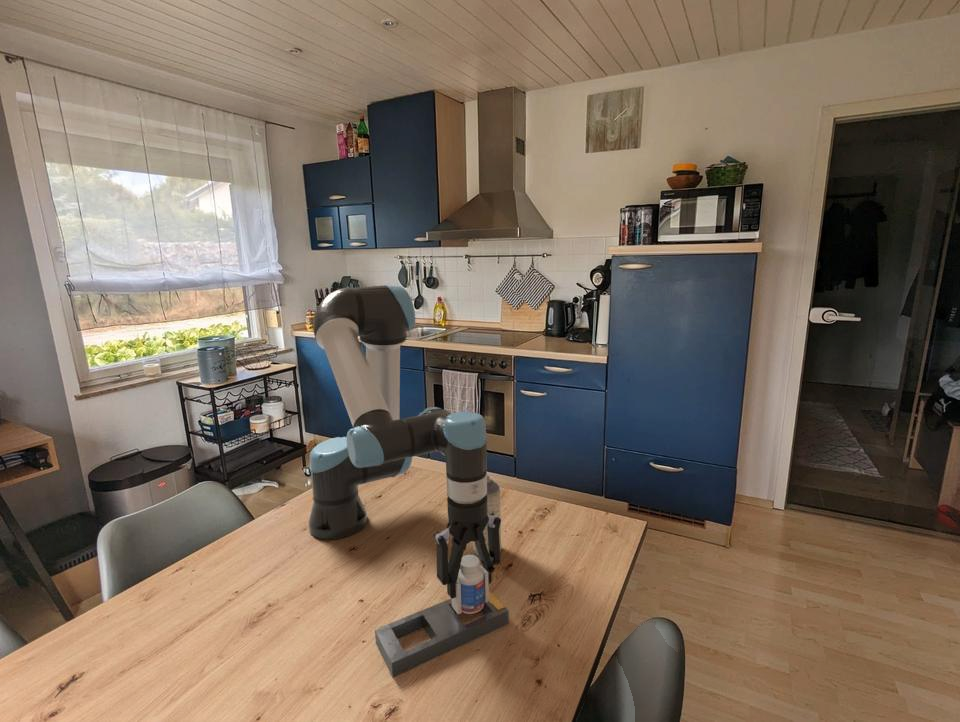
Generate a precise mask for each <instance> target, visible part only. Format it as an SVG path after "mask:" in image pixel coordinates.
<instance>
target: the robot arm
mask: <svg viewBox="0 0 960 722" xmlns="http://www.w3.org/2000/svg"><path fill="white" fill-rule="evenodd" d="M415 312H416V311H415V308H414V304H413V300H412V299H411V295H410V294H409V292H408V291H407V290H406V289H405V288H404V287H403V286H399V285H387V284H385V285H373V286H361V287H359V286H358V287H342V288H339V289H336V290H334V291H332V292H331V293H329V294H327V296H325V297H324V298H323V300H321V302H320V303H319V305H318V306H317V309H316V311H315V313H314V316H313V319H312V320H313V321H312V330H313V331H312V332H313V335H314V338H315V341H316V343H317V345H318V347H319V348H321V349H322V350H324V352H325V355H326V357H327V360H328V364H329V365H330V368H331V370H332V373H333V376H334V379H335V382H336V384H337V387H338V391H339V392H340V395H341V398H342V400H343V403H344V406H345V409H346V411H347V415H348V416H349V419H350V422H351V425H352V428H350V429H349V430H348V431H347V434H346V436H342V437H341V436H336V437H332V438H330V439H326V440H324V441H322V442H320V443H318V444H317V445H316V446H314V447H313V448H312V449H311V451H310V452H309V471H310V477H311V488H312V489H311V490H312V498H313V504H312V507H311V511H310V515H309V519H308V528H309V533H310V534H311V536H313V537H315V538H317V539H321V540H340V539H344V538H348V537H350V536H353V535H354V534H357V533H359V532H360V531H361V530H362V529H364V528H365V526H366V525H367V523H368V517H367V516H368V515H367V510H366V507H365V506H364V504H363V502H362V499H361V497H360V495H359V488H358V487H359V486H361V485H365V484H368V483H369V484H370V483H372V482H377V481H380V480H384V479H388V478H395V477H397V476H399V475H402V474H405V473H406V472H407V471H409V469H410V468H411V466H412V460H413V457H416V456H417V457H418V456H421V455H425V454H431V453H433V452H438V453H439V454H441V455H442V456H443V457H445V472H446V473H445V474H446V477H445V478H446V479H445V480H446V495H447V500H446V501H447V504H446V505H447V517H448V522H447V523H446V528H445V529H443V530H441V531H440V532H439V531H435V532H434V533H433V537H434V540H435V543H436V578H437V579H438V580H439V582H440V583H441V585H443V586H446V591H447V592H446V594H447V595H448V596H449V599H451V601H452V607H453V608H454V610H455V611H456V612H457V614H456V615H460V614H462V613H463V612H462V609H461V583H460V582H459V581H458V579H457V578H458V574H459V569H460V565H461V560H462V557H463V556H464V551H466V550H467V545H468V544H469V543H472V542H473V541H474V542H475V545H476V548H477V551H478V554H479V557H480V558H479V557H478V558H479V560H480V568H481V569H482V570H483V574H484V601H485V602H489V590H490V588H489V584H491V583H492V581H493V577H492V575H493V574H492V573H494V572H495V570H496V568H495V567H494V566H495V565H499V564H500V563H501V553H500V541H499V528H500V524H501V525H502V518H501V519H500V518H499V517H497V516H496V515H495V514H494V513H492V514H490V515H487V512H488V505H487V495H486V494H487V474H488V472H487V471H488V467H487V465H488V462H487V460H488V458H487V457H488V456H487V455H488V454H487V453H488V452H487V449H488V448H487V445H488V442H487V441H488V434H487V431H486V430H487V429H486V419H485V417H483V415H481V414H480V413H478V412H472V411H457V412H453V413H451V412H450V411H449V410H446V409H443V408H440V407H437V406H430V407H429V406H428V407H427V408H425V409H423V410H422V411H421V412H419V413H418V415H416V416H410V417H406V418H400V406H401V404H400V400H401V399H400V393H401V391H400V390H401V389H400V387H401V386H400V385H401V377H400V376H401V346H402V345H403V344H404V343H405V342H406V341H407V333H408V332H409V333H410V332H411V331H413V330H414V328H415V326H416V313H415ZM361 343H362V344H363V345H364V346H365V352H364V349H363V348H362V344H361ZM486 525H487V530H488V548H489V553H488V550H487V547H486V544H485V537H484V534H483V531H484V529H485V527H486ZM450 536H451V549H450V554H449V546H448V544H449V543H450V540H449V539H450V538H449V537H450ZM481 564H482V565H481Z"/></svg>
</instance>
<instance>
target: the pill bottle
mask: <svg viewBox="0 0 960 722" xmlns="http://www.w3.org/2000/svg"><path fill="white" fill-rule="evenodd" d="M480 565H481V560H480V558H479V557H477V556H476V555H475V554H466V555H463V556H462V560H461V565H460V569H459V574H458V578H457V579H458V581H459V582H460V583H461V609H462V613H464V614H465V615H466V614H467V615H472V614H473V615H474V614H476V613H479V612H480V611H481V609H482V608H483V606H484V574H483V570H482V569H481V568H480Z"/></svg>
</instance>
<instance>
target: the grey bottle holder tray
mask: <svg viewBox="0 0 960 722" xmlns="http://www.w3.org/2000/svg"><path fill="white" fill-rule="evenodd" d="M480 611H481V612H482V613H483V614H484V615H482V616H481V617H478V618H476V619H473V620H471V621H470V622H469V621H468V622H467V623H465V624H464V623H463V622H462V620H461V619H460V618H459V616H458V614H457V612H456V611H455V610H454V608H453V607H452V601H451V598H449V599H446V600H444V601H442V602H440V603H436V604H435V605H434V604H433V605H432V606H429V607H427V608H424V609H422V610H420V611H417V612H415V613H411V614H410V615H407V616H405V617H401V618H399V619H398V620H395V621H393V622H390V623H388V624H385V625H382V626H380V627H378V628H374V636H375V644H376V646H377V649H378V651H379V653H380V655H381V656H382V657H381V658H383V661H384V662H385V665H386V667H387V669H388V671H389V673H390V675H391V678H396V677H398V676H400V675H402V674H404V673H406V672H408V671H411V670H412V669H415V668H418V667H419V666H421V665H424V664H426V663H428V662H431V661H432V660H434V659H436V658H438V657H440V656H442V655H444V654H447V653H449V652H451V651H454V650H455V649H458V648H460V647H462V646H463V645H466V644H468V643H470V642H473V641H475V640H477V639H479V638H481V637H484V636H485V635H488V634H490V633H492V632H494V631H496V630H498V629H500V628H503V627H505V626H507V625H509V623H510V622H509V621H510V619H509V618H510V616H509V614H510V613H509V612H510V610H509V609H508V608H507V606H505V605H504V603H502V601H501V600H499V598H498V597H497V596H496V594H494V593H493V592H492V591H491V589H489V602H485V601H484V606H483V608H482V609H481V610H480ZM423 629H424V630H425V633H426V634H427V635H428V637H429V638H430V639H429V640H427V641H424V642H422V643H420V644H418V645H416V646H414V647H411V648H409V649H407V650H404V648H403V647H402V645H401V643H400V641H399V640H400V639H402V638H404V637H406V636H408V635H411V634H413V633H416V632H419V631H420V630H423Z"/></svg>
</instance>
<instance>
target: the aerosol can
mask: <svg viewBox="0 0 960 722" xmlns="http://www.w3.org/2000/svg"><path fill="white" fill-rule="evenodd" d="M486 495H487V505H488V512H487V515H490V514H492V513H494V514H495V515H496V516H497V517H499V518H500V519H501V520H502V516H501V515H502V512H501V510H502V509H501V506H502V505H501V488H500V485H499V483H498V482H496V481H494V480H493V479H491V477H490V474H489V473H487V494H486ZM483 534H484V537H485V544H486V547H487V550H488V553H489V548H488V530H487V525H486V527H485V529H484V531H483ZM499 541H500V554H501V552H502V523H501V524H500V528H499ZM472 547H473V549H472V551H473V555H475V556H477V557H478V558H479V559H480V557H479V554H478V551H477V548H476V545H475V542H474V541H472Z"/></svg>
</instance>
